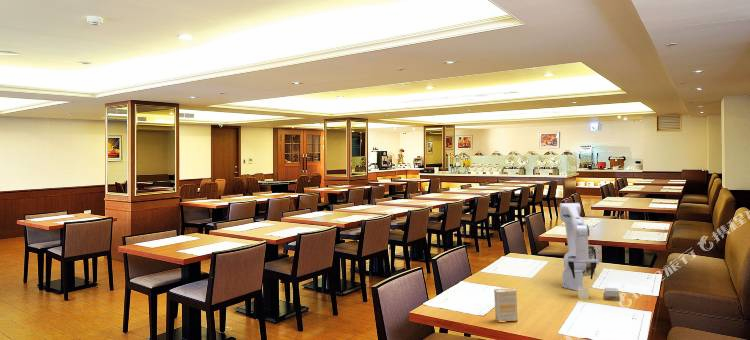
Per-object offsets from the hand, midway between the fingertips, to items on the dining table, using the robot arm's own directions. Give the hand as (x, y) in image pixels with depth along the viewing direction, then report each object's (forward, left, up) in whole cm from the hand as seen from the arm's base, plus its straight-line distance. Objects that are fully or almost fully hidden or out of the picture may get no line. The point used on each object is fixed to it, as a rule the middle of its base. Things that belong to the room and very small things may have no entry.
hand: (582, 278), depth 234 cm
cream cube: (0, 0, -9) cm, 9 cm away
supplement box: (+1, -54, -9) cm, 55 cm away
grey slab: (+10, +7, -7) cm, 14 cm away
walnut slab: (+10, +7, -10) cm, 16 cm away
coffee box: (-27, +41, -9) cm, 50 cm away
